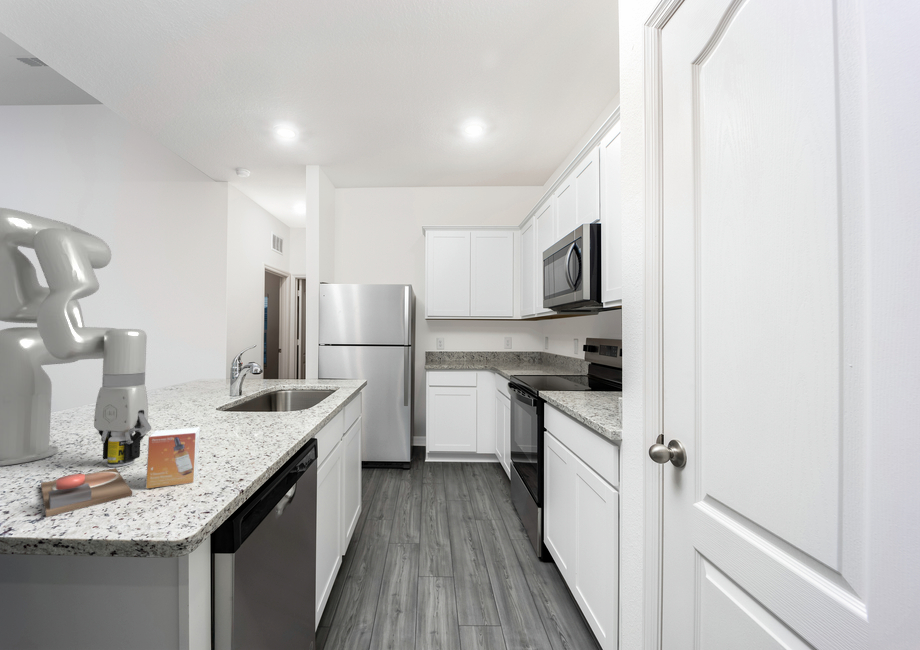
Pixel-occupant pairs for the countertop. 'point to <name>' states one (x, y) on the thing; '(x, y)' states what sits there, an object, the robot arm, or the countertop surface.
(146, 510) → the countertop surface
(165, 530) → the countertop surface
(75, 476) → the button
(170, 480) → the small box
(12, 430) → the robot arm
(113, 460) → the supplement bottle
